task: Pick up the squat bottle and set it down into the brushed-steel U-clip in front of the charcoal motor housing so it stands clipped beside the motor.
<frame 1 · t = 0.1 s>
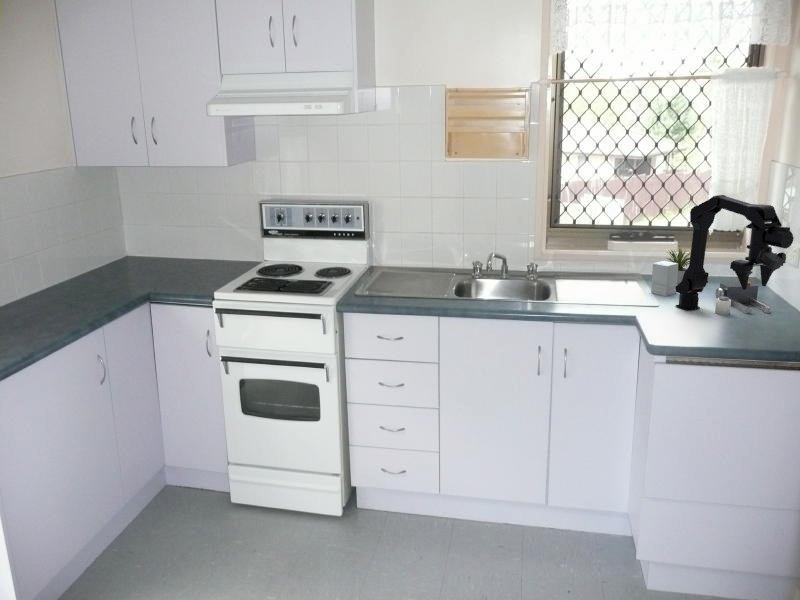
hand: (754, 287, 244), 15 cm above the worktop, fingers open, 9 cm apart
motor clip: (751, 309, 268), on the worktop
house plant: (676, 284, 306), on the worktop
bottle: (722, 313, 265), on the worktop
supplement box: (663, 293, 293), on the worktop
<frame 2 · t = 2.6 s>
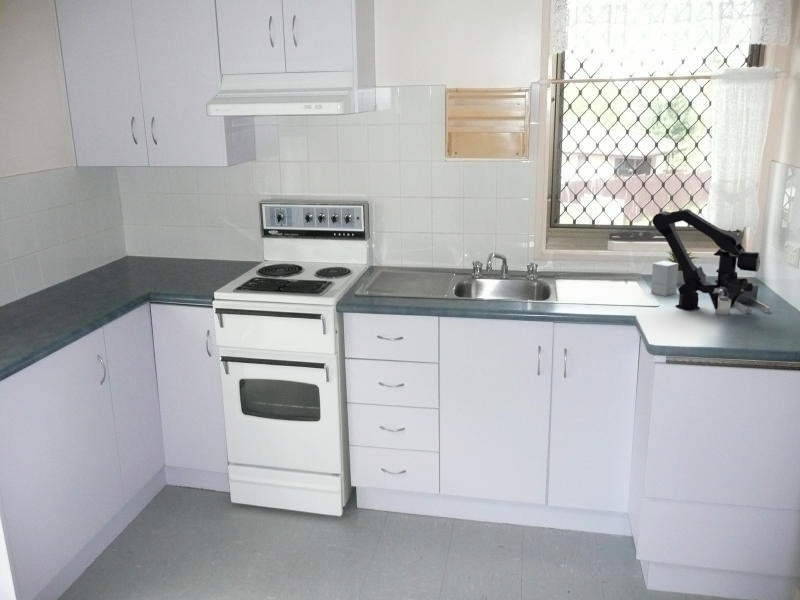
hand: (722, 309, 265), 2 cm above the worktop, fingers closed on bottle, 5 cm apart
bottle: (722, 313, 265), on the worktop, touching gripper
everything else where it was.
when the fingers open (3 cm above the worktop, at t = 6.7 s): bottle drops 2 cm, on the worktop.
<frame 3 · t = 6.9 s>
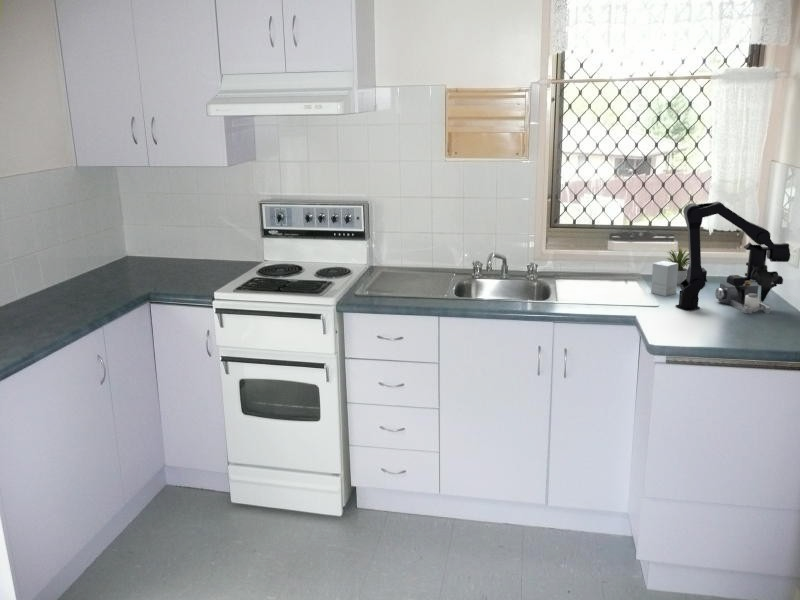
hand: (752, 301, 267), 3 cm above the worktop, fingers open, 7 cm apart
bottle: (751, 309, 268), on the worktop
everything else where it was.
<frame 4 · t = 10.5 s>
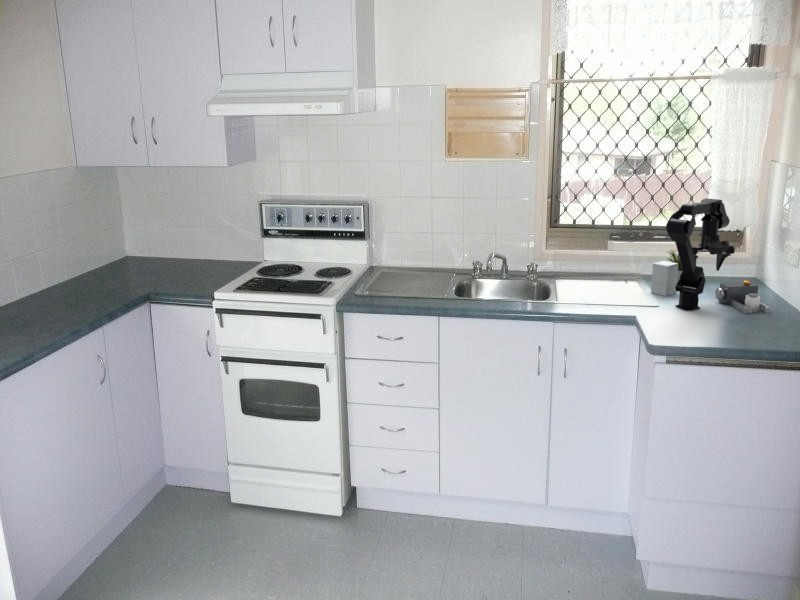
hand: (705, 271, 277), 12 cm above the worktop, fingers open, 9 cm apart
nothing on the worktop moved.
at the end: bottle 0.1 cm off-centre on the motor clip, point 0.0 cm above the motor clip's base; bottle tilted 1°; the gripper is holding nothing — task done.
